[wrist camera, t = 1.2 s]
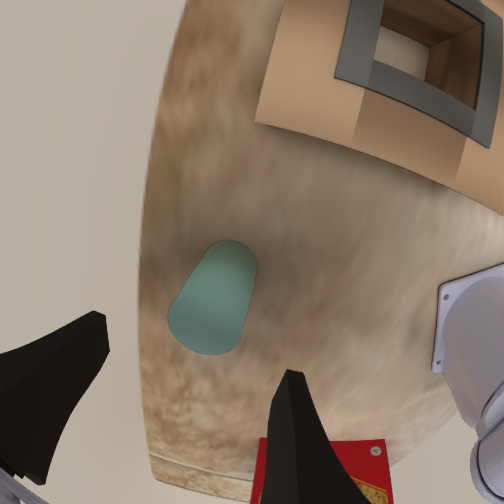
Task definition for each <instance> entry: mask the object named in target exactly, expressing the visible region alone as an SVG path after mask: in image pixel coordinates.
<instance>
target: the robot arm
mask: <svg viewBox="0 0 504 504" xmlns="http://www.w3.org/2000/svg"><path fill="white" fill-rule="evenodd" d="M446 294H447V296H446V297H444V296H445V295H446ZM109 352H110V348H109V341H108V333H107V324H106V315H104V314H101V313H99V312H96V311H91V312H89V313H87V314H85V315H83V316H81V317H80V318H78V319H76V320H74V321H72V322H71V323H69V324H67V325H66V326H63V327H61V328H60V329H58V330H56V331H54V332H52V333H50V334H48V335H46V336H44V337H42V338H40V339H37V340H36V341H33V342H31V343H29V344H27V345H24V346H22V347H20V348H17V349H14V350H11V351H8V352H5V353H1V354H0V504H21V503H20V500H22V501H23V502H24V503H26V504H49V503H47V502H46V501H44V500H43V499H41V498H40V497H38V496H37V495H35V494H34V493H33V492H31V491H30V490H28V489H27V488H26V487H24V486H23V485H22V484H20V483H19V482H18V481H16V480H15V479H14V478H13V477H14V475H15V474H16V475H17V476H19V477H20V478H21V479H22V478H23V477H24V476H26V477H27V478H28V479H30V480H31V481H32V482H34V483H35V484H37V485H44V484H45V483H46V478H47V474H48V471H49V467H50V463H51V460H52V457H53V455H54V451H55V449H56V446H57V443H58V441H59V439H60V436H61V434H62V431H63V429H64V427H65V425H66V423H67V421H68V419H69V417H70V414H71V413H72V411H73V410H74V408H75V406H76V405H77V403H78V402H79V400H80V399H81V397H82V396H83V395H84V393H85V392H86V390H87V389H88V387H89V386H90V384H91V383H92V381H93V380H94V378H95V377H96V376H97V374H98V372H99V371H100V369H101V367H102V366H103V364H104V362H105V359H106V358H107V356H108V354H109ZM431 370H432V372H433V373H439V372H441V371H442V372H443V374H444V376H445V378H446V381H447V383H448V385H449V388H450V390H451V392H452V395H453V397H454V400H455V402H456V405H457V407H458V410H459V412H460V415H461V417H462V418H463V420H464V421H465V422H466V423H467V424H468V425H469V426H470V427H472V428H474V429H476V432H477V435H478V437H479V439H478V440H477V442H476V443H475V444H474V447H473V449H472V452H471V457H470V470H471V476H472V480H473V483H474V485H475V487H476V489H477V490H478V492H479V493H480V494H481V496H482V497H483V498H485V499H486V500H488V501H489V502H491V503H493V504H504V264H502V265H499V266H496V267H493V268H491V269H488V270H485V271H482V272H479V273H476V274H473V275H470V276H467V277H464V278H461V279H458V280H455V281H452V282H448V283H445V284H443V285H442V286H441V287H440V289H439V304H438V318H437V329H436V339H435V347H434V355H433V362H432V368H431ZM260 504H372V503H371V502H370V501H369V500H368V499H367V498H366V496H365V495H364V494H363V493H362V491H361V490H360V489H359V487H358V486H357V485H356V484H355V482H354V481H353V480H352V478H351V477H350V475H349V474H348V472H347V471H346V469H345V468H344V466H343V465H342V463H341V461H340V460H339V458H338V456H337V455H336V453H335V451H334V449H333V447H332V445H331V443H330V441H329V439H328V437H327V435H326V433H325V431H324V428H323V426H322V424H321V421H320V419H319V416H318V414H317V412H316V409H315V406H314V404H313V401H312V398H311V395H310V392H309V389H308V386H307V382H306V379H305V376H304V374H303V372H298V371H293V370H288V369H287V370H286V372H285V374H284V376H283V378H282V381H281V383H280V385H279V387H278V389H277V391H276V393H275V395H274V397H273V399H272V403H271V409H270V414H269V420H268V431H267V449H266V466H265V477H264V484H263V489H262V494H261V500H260Z"/></svg>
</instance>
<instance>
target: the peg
mask: <svg viewBox="0 0 504 504" xmlns="http://www.w3.org/2000/svg"><path fill="white" fill-rule="evenodd" d="M256 274H257V261H256V258H255V256H254V254H253V253H252V251H251V250H250V249H249V248H248V247H246V246H245V245H243V244H242V243H239V242H237V241H232V240H223V241H219V242H217V243H215V244H213V245H212V246H210V247H209V249H208V250H207V251H206V253H205V254H204V256H203V257H202V259H201V260H200V262H199V263H198V265H197V266H196V268H195V269H194V271H193V272H192V274H191V276H190V277H189V279H188V280H187V282H186V283H185V285H184V286H183V288H182V289H181V291H180V293H179V294H178V296H177V297H176V299H175V300H174V302H173V304H172V305H171V307H170V309H169V311H168V325H169V328H170V330H171V332H172V334H173V335H174V336H175V338H176V339H177V340H178V341H179V342H180V343H181V344H183V345H184V346H185V347H187V348H189V349H190V350H193V351H195V352H198V353H201V354H206V355H219V354H223V353H226V352H229V351H230V350H232V349H233V348H234V347H236V345H237V344H238V343H239V341H240V338H241V335H242V331H243V327H244V323H245V318H246V314H247V310H248V306H249V302H250V298H251V294H252V290H253V286H254V282H255V278H256Z"/></svg>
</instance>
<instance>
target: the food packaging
mask: <svg viewBox="0 0 504 504" xmlns="http://www.w3.org/2000/svg"><path fill="white" fill-rule="evenodd" d="M330 443H331V445H332V447H333V449H334V451H335V453H336V455H337V456H338V458H339V460H340V461H341V463H342V465H343V466H344V468H345V469H346V471H347V472H348V474H349V475H350V477H351V478H352V480H353V481H354V482H355V484H356V485H357V486H358V487H359V489H360V490H361V491H362V493H363V494H364V495H365V496H366V498H367V499H368V500H369V501H370V502H371V503H372V504H394V503H393V494H392V486H391V477H390V470H389V463H388V457H387V450H386V444H385V439H379V440H363V441H330ZM266 449H267V438H261V437H260V442H259V448H258V454H257V460H256V467H255V474H254V480H253V486H252V493H251V499H250V504H260V500H261V494H262V489H263V484H264V477H265V466H266Z"/></svg>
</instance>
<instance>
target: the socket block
mask: <svg viewBox="0 0 504 504" xmlns="http://www.w3.org/2000/svg"><path fill="white" fill-rule="evenodd" d="M380 25H381V26H384V27H386V28H389V29H391V30H394V31H396V32H398V33H401V34H403V35H405V36H407V37H410V38H412V39H414V40H416V41H418V42H420V43H422V44H424V45H426V46H428V47H430V53H429V59H428V66H427V71H426V77H425V82H424V81H422V80H420V79H418V78H416V77H414V76H412V75H410V74H407V73H405V72H403V71H401V70H399V69H396V68H394V67H391V66H389V65H387V64H384V63H382V62H379V61H377V60H374V59H373V58H374V53H375V48H376V43H377V38H378V33H379V28H380ZM254 122H258V123H261V124H265V125H269V126H273V127H277V128H281V129H285V130H289V131H293V132H297V133H300V134H304V135H308V136H311V137H315V138H318V139H322V140H325V141H328V142H332V143H335V144H338V145H341V146H344V147H347V148H350V149H353V150H356V151H359V152H362V153H365V154H368V155H371V156H373V157H376V158H379V159H382V160H384V161H387V162H389V163H392V164H395V165H397V166H400V167H402V168H405V169H407V170H410V171H412V172H414V173H417V174H419V175H421V176H424V177H426V178H428V179H430V180H433V181H435V182H437V183H439V184H441V185H444V186H446V187H448V188H450V189H452V190H454V191H456V192H458V193H460V194H462V195H464V196H466V197H468V198H470V199H472V200H474V201H476V202H478V203H480V204H482V205H484V206H486V207H488V208H489V209H491V210H493V211H495V212H497V213H498V214H500V215H502V216H503V215H504V0H285V2H284V6H283V9H282V13H281V17H280V20H279V24H278V28H277V32H276V35H275V39H274V43H273V47H272V50H271V54H270V58H269V62H268V66H267V70H266V74H265V78H264V82H263V86H262V90H261V94H260V98H259V102H258V106H257V110H256V115H255V119H254Z"/></svg>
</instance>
